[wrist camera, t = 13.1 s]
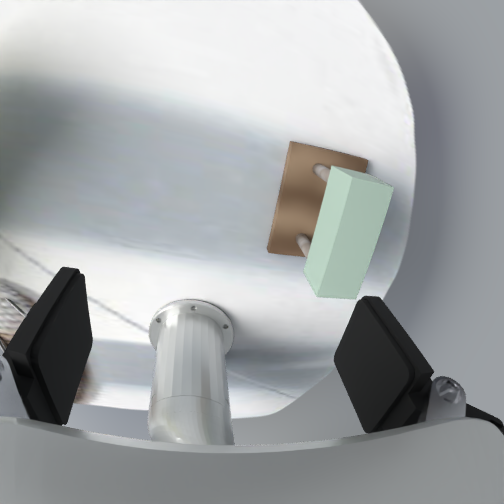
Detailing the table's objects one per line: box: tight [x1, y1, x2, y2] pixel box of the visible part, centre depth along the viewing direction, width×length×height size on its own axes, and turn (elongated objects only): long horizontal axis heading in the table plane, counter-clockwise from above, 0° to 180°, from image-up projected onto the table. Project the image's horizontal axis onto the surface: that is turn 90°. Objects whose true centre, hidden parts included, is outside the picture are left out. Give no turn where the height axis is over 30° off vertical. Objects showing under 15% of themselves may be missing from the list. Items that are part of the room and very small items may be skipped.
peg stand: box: [267, 141, 368, 258], centre depth 36 cm, size 14×10×7 cm
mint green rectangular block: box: [303, 166, 394, 299], centre depth 30 cm, size 4×12×5 cm, turn 170°
